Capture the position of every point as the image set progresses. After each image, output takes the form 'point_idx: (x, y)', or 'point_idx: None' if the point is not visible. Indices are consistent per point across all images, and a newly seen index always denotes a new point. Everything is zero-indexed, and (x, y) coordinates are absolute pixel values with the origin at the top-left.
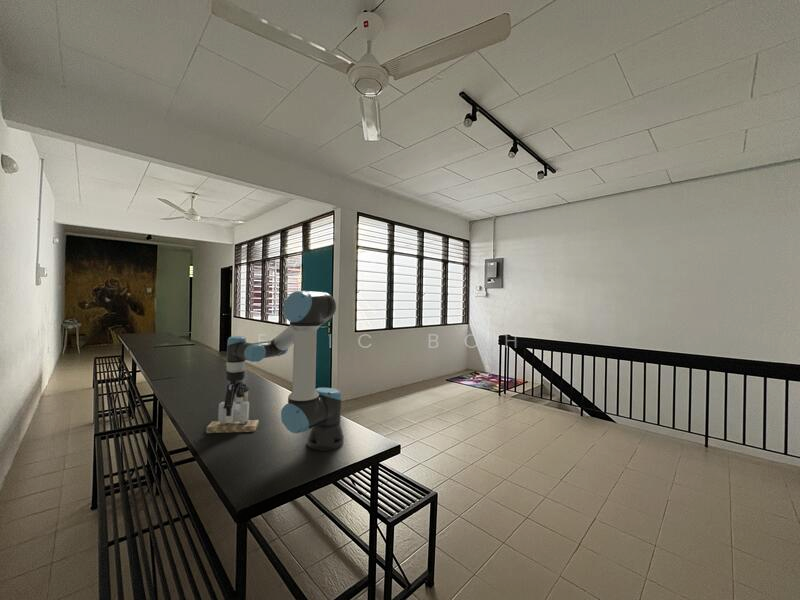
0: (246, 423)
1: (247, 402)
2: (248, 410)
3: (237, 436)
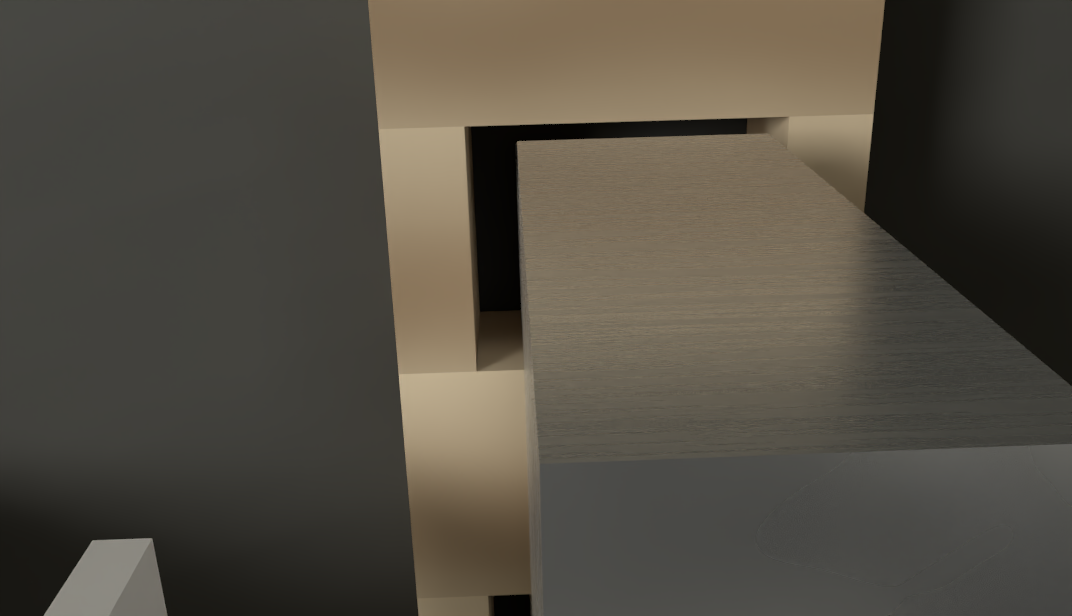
0: (468, 174)
1: (762, 532)
2: (621, 237)
3: (1068, 182)
